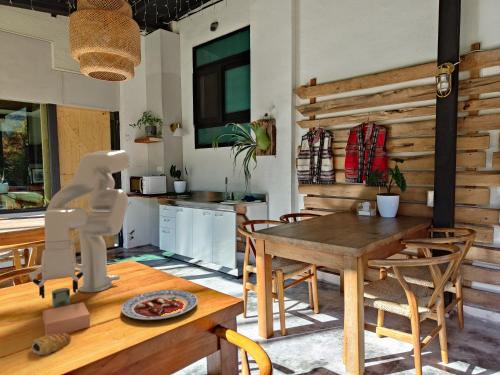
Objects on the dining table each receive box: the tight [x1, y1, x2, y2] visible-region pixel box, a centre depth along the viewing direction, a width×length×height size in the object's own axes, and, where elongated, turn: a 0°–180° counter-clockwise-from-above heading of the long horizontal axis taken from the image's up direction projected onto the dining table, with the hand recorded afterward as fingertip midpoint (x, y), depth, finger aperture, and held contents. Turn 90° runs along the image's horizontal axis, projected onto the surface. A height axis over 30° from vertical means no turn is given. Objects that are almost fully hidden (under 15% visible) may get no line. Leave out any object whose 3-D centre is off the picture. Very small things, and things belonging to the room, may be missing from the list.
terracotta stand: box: [42, 301, 91, 336], centre depth 112 cm, size 12×12×4 cm
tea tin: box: [51, 287, 72, 309], centre depth 124 cm, size 6×6×7 cm
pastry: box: [31, 332, 71, 356], centre depth 98 cm, size 9×7×4 cm
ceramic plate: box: [121, 289, 198, 321], centre depth 124 cm, size 26×26×3 cm
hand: (59, 294), depth 122 cm, fingers open, 9 cm apart
